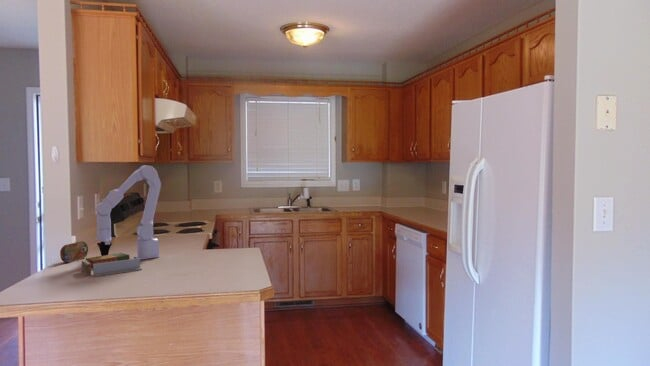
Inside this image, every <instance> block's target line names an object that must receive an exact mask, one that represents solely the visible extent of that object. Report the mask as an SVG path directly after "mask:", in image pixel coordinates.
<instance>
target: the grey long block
mask: <svg viewBox="0 0 650 366" xmlns="http://www.w3.org/2000/svg"><path fill="white" fill-rule="evenodd" d="M142 270H143V269H142V267H141V260H140V258H130V259H129V260H121V261H113V262H106V263H98V264H93V269H92V271H93V276H94V277H102V276H109V275H116V274H121V273H129V272H135V271H136V272H139V271H142Z"/></svg>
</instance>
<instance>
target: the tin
mask: <svg viewBox="0 0 650 366" xmlns="http://www.w3.org/2000/svg"><path fill="white" fill-rule="evenodd" d="M88 251H89V247H88V244H87V243H86V242H85V241H83V240H82V241H76V242H70V243H67V244H64V245H63V246H62V247H61V249H60V251H59V254H60V260H61V261H62V262H64V263H74V262H77V261H80V260H85V259H86V257H87V255H88V253H89V252H88Z"/></svg>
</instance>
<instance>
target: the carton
mask: <svg viewBox="0 0 650 366" xmlns="http://www.w3.org/2000/svg"><path fill="white" fill-rule="evenodd" d="M129 259H131V258H130V254H127V253H122V252H118V253H111V254H108V255H105V256H101V255H100V256H99V255H98V256H93V257H87V258H86V257H85V260H87V261H88V262H89V263H90V264H91V270H93V264H98V263H106V262H113V261H121V260H129Z"/></svg>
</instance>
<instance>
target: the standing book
mask: <svg viewBox="0 0 650 366" xmlns="http://www.w3.org/2000/svg"><path fill="white" fill-rule="evenodd" d="M81 260H82V261H81V271H82V273H83V274H84V275H85V277H89V276H90V277H91V276H92V269H91V264H90V263H89V262H88V261H87V260H86V259H81Z"/></svg>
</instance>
